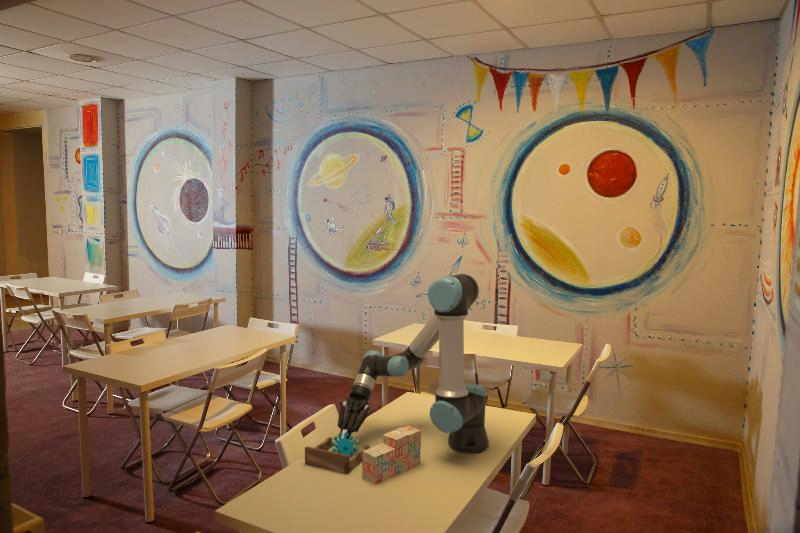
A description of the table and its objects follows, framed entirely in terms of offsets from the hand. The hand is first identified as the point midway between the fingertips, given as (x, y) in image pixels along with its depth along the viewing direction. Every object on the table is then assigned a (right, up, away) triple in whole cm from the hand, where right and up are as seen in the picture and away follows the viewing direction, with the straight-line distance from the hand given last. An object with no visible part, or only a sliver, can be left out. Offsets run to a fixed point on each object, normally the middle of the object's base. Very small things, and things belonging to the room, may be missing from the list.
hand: (339, 448), depth 188 cm
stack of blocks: (+19, -5, -9) cm, 21 cm away
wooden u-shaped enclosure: (0, -3, -1) cm, 3 cm away
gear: (+2, -2, -1) cm, 3 cm away
